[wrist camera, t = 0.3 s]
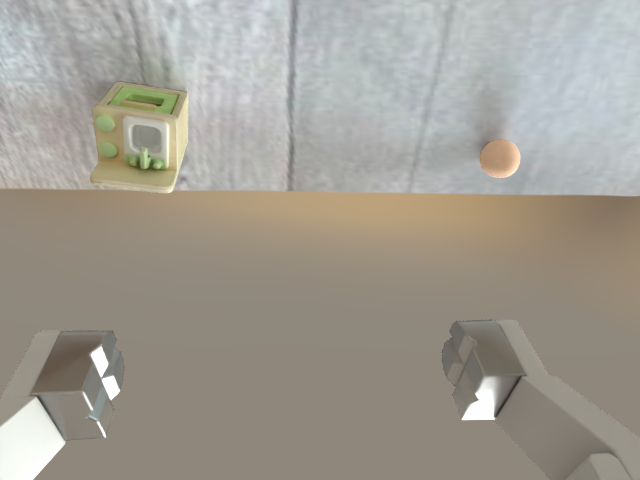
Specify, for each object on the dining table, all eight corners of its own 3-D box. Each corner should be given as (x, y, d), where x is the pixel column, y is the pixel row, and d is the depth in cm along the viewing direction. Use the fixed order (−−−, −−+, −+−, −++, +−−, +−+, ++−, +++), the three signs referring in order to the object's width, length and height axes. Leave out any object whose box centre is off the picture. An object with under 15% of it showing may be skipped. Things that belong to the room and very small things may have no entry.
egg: (514, 133, 60) (534, 153, 56) (501, 165, 64) (519, 187, 59) (481, 131, 60) (498, 151, 55) (469, 164, 63) (484, 185, 58)
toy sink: (190, 87, 53) (170, 133, 42) (189, 141, 57) (171, 195, 47) (115, 75, 51) (76, 119, 41) (120, 132, 55) (87, 185, 45)
